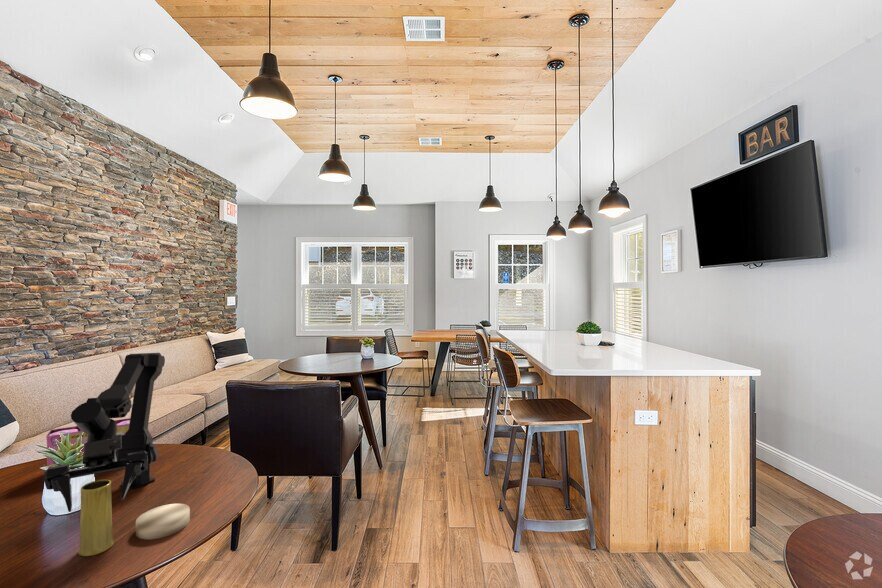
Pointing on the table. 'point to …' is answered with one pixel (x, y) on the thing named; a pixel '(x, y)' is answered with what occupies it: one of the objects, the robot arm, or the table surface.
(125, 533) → the table surface
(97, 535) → the vase
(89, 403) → the robot arm
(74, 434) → the gum box
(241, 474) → the table surface
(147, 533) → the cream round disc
